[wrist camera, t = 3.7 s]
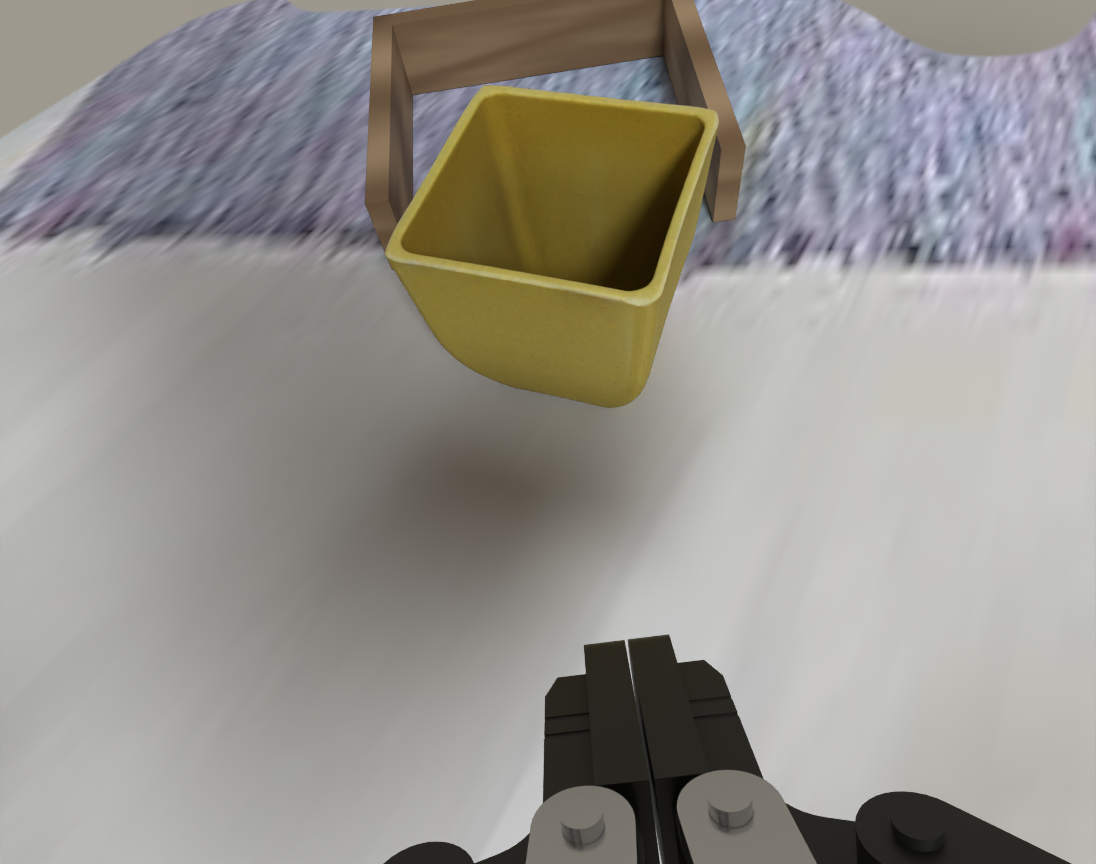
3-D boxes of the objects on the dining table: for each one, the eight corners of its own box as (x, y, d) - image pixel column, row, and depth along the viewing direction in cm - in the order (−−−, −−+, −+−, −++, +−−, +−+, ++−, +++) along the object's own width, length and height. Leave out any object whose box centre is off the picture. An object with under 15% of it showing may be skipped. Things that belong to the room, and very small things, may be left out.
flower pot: (515, 255, 34) (479, 77, 27) (703, 288, 32) (723, 105, 25) (443, 411, 30) (376, 255, 23) (652, 461, 28) (657, 306, 21)
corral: (735, 218, 34) (745, 145, 31) (391, 269, 35) (365, 203, 31) (677, 42, 41) (681, -34, 38) (395, 86, 42) (373, 16, 39)
